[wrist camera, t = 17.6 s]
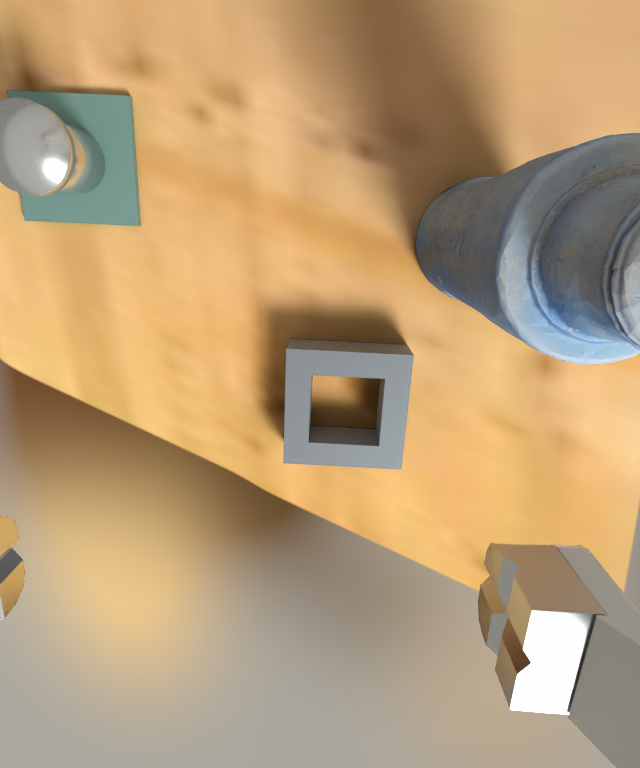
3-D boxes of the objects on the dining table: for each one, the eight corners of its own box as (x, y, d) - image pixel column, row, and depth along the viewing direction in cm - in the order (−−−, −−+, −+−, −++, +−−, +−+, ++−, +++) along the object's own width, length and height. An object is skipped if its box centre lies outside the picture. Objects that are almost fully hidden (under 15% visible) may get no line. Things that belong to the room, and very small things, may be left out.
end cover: (33, 118, 39) (-28, 95, 33) (108, 121, 39) (62, 99, 32) (44, 198, 41) (-12, 193, 34) (115, 202, 41) (73, 197, 34)
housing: (290, 338, 45) (286, 348, 41) (406, 344, 45) (413, 355, 41) (287, 444, 48) (283, 463, 45) (395, 450, 48) (401, 469, 44)
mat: (11, 92, 39) (6, 90, 39) (131, 97, 39) (129, 95, 39) (28, 220, 42) (24, 220, 42) (140, 225, 42) (138, 225, 42)
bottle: (536, 185, 40) (1024, 82, 12) (511, 302, 43) (852, 444, 15) (423, 175, 40) (639, 46, 12) (406, 292, 43) (546, 415, 15)
